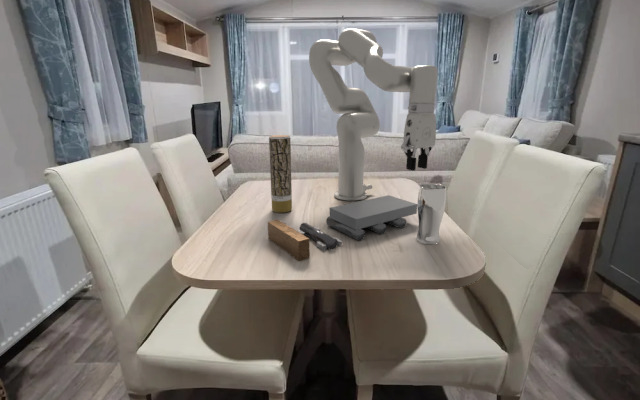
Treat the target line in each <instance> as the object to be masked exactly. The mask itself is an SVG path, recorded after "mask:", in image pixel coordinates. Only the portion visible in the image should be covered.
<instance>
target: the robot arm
mask: <svg viewBox="0 0 640 400" xmlns="http://www.w3.org/2000/svg"><path fill="white" fill-rule="evenodd" d="M377 42H378V41H377V38H376V36H375V34H374V33H373V32H372V31H370V30H365V29H361V28H355V27H350V28H349V27H348V28H345V29H344V30H342V31H341V33H340V35H339V36H338V39H337V40H333V39H319V40H317V41H315V42H313V43H312V45H311V47H310V49H309V53H308V54H309V55H308V63H309V68H310V70H311V73H312V75H313V76H314V78H315V79H316V81H317V83H318V84H319V86H320V88H321V91H322V92H323V95H324V96H325V99H326V101H327V103H328V105H329V107H330V108H331V111H332V112H333V113H335V114H339V115H340V117H339V118H338V119H337V121H336V134H337V139H338V141H337V142H338V179H337V180H338V185H337V186H338V187H337V188H338V190H336V191H334V194H333V197H334V198H336V199H338V200H341V201H348V202H349V201H351V202H352V201H354V202H357V201H363V200H366V198H367V197H368V193H367V192H366V191H367V190H372V189H373V185H372V184H371V183H369V184H367V185H366V184H365V183H364V180H365V179H364V177H365V176H364V172H365V147H364V144H363V142H362V139H365V138H366V139H367V138H372V137H375V136H376V135H377V134H378V133H379V131H380V129H381V128H380V127H381V125H380V124H381V123H380V119H379V116H378V114H377V112H376V109H375V108H374V106H373V103H372V102H371V100H370V99H369V96H368V95H367V93H366V92H365V91H364V90H362V89H361V88H357V87H349V86H347V85H346V83H345V82H344V79H343V78H342V76H341V74H340V73H339V71H338V70H336V68H334V66H341V67H343V66H344V67H345V66H346V67H347V66H349V65H353V64H354V63H357V64H358V65H359V66H361V68H363V72H364V75H365V77H366V78H367V79H368V80H369V81H370V82H371V83H372V84H374V85H375V86H376V87H378V88H379V89H381V90H382V91H385V92H389V93H397V92H398V93H409V96H408V97H409V98H408V106H407V110H408V112H407V113H408V114H407V116H406V120H405V124H404V129H403V130H404V131H403V141H402V144H401V146H400V149H401V150H402V151H403V152H404V154H405V157H406V167H405V168H406V170H409V171H416V168H420V169H423V170H425V169H426V170H427V169H428V168H427V167H428V160H429V158H428V157H429V156H430V153H431V151H432V149H433V148H434V146H435V145H436V141H437V140H436V139H437V138H436V135H437V119H436V117H437V116H436V113H435V104H436V103H435V102H436V94H437V85H438V84H437V83H438V74H439V72H438V71H439V70H438V68H437V66H436V65H429V64H426V65H425V64H424V65H416V66H413V67H411V66H402V65H394V64H391V63H390V62H388V61H386V60H385V59H383V55H384V49H383V47H382V46H381V45H380V44H379V43H377ZM418 149H419V154H418V157H416V155H417V150H418ZM417 158H418V159H417ZM417 160H418V161H417ZM416 164H417V167H416Z"/></svg>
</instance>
